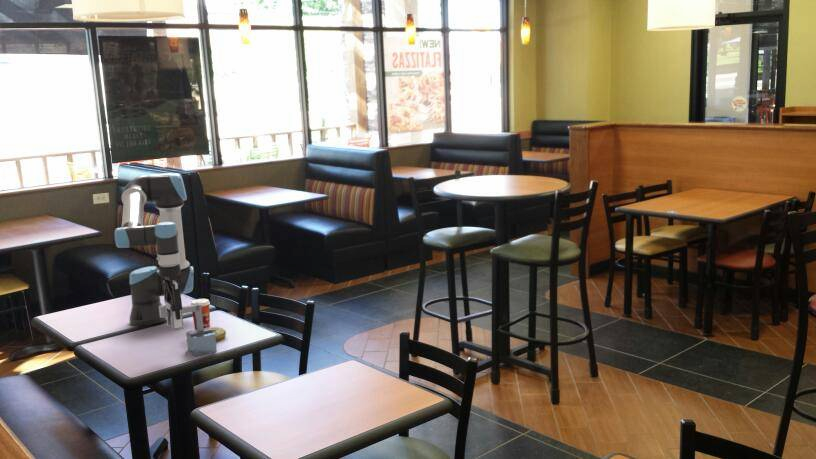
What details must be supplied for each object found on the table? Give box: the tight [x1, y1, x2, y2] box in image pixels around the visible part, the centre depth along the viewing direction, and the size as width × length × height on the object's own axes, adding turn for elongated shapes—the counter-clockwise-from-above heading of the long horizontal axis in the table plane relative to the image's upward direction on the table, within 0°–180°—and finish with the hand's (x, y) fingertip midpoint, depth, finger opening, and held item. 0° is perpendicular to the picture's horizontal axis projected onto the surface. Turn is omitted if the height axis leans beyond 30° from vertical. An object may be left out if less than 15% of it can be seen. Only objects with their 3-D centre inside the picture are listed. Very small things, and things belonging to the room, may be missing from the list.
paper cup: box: [190, 298, 211, 330], centre depth 299 cm, size 8×8×14 cm
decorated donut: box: [210, 326, 227, 342], centre depth 294 cm, size 10×11×4 cm
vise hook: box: [159, 304, 218, 357], centre depth 275 cm, size 10×18×20 cm, turn 124°
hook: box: [164, 299, 184, 332], centre depth 272 cm, size 7×4×10 cm, turn 33°
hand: (175, 324), depth 273 cm, fingers closed on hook, 7 cm apart
